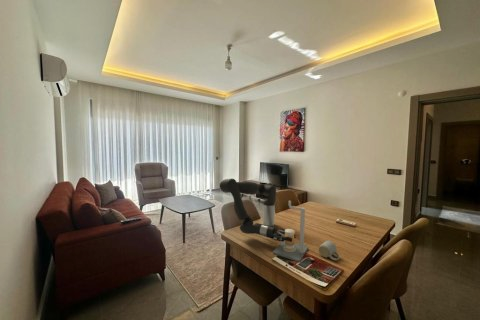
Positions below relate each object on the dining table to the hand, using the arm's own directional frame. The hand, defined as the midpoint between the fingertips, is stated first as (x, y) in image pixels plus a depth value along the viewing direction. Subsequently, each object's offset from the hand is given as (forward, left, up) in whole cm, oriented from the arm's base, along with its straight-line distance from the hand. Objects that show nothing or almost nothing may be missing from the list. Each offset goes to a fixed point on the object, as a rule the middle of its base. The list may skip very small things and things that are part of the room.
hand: (293, 238), depth 121 cm
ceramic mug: (-7, +19, -9) cm, 22 cm away
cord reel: (0, -3, -6) cm, 6 cm away
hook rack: (0, -2, -9) cm, 9 cm away
